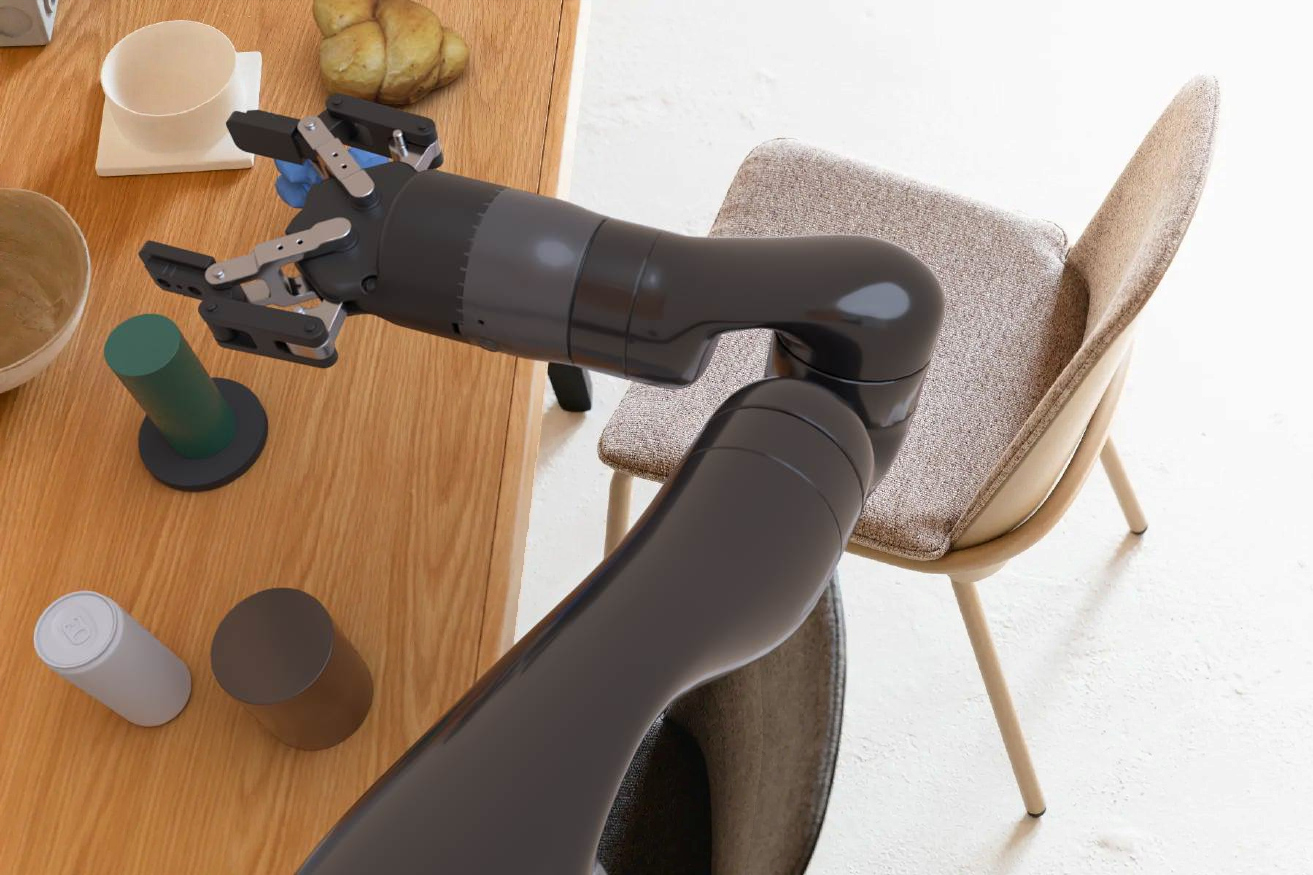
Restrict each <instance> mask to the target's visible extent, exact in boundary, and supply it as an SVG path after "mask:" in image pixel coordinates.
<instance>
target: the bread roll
mask: <svg viewBox="0 0 1313 875" xmlns="http://www.w3.org/2000/svg"><path fill="white" fill-rule="evenodd" d="M311 12H312V16H313V19H314V22H315V24H316V27H317V28H318V30H319V32H320V34H321V36H322V37H324V38H323V39H322V40H321V41H320V44H319V49H318V50H319V63H320V64H319V65H320V71H321V77H322V80H323V85H324V86H325V89H326V90H327V92H328V93H329V95H330V96H331V95H333V94H337V93H341V94H346V95H349V96H353V97H356V98H360V99H363V100H367V101H370V102H374V103H377V104H382V105H407V104H409V105H410V104H415V103H416V102H417V101H419V100H421V99H423V97H425V96H426V95H427V94H429V93H430V92H431V90H435V89H439V88H443V87H446V86H448V84H450V83H452V82H453V81H454V80H455V79H457V78H458V77H459V76H460V75H462V73H464V71H465V69H466V68H467V66H468V64H469V62H470V49H469V46H468V44H467V43H466V41H465V39H464V37H463V36H462V35H461V34H460V33H459V32H457V31H456V30H454V29H453V28H452V27H448V26H443V25H442V23H441V19H440V17H439V16H438V15H437V13H436V12H435V11H433V10H432V9H430V8H429V7H428V6H426V5H424V4H422V3H419V2H417V1H414V0H313V2H312V6H311Z"/></svg>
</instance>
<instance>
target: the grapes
mask: <svg viewBox="0 0 1313 875" xmlns="http://www.w3.org/2000/svg"><path fill="white" fill-rule="evenodd" d="M347 150H348V152H349V153H350V154H351V156H352V157H353V158H354V159H355V161H356V162H357V163H358V165H359V166H360V167H361V168H362V169H364V168H368V167H372V166H376V165H380V164H384V163H388V162H390V158H387V157H384V156H380V155H377V154H374V153H370V152H367V151H363V150H360V149H357V148H353V147H350V146H349V148H348V149H347ZM273 162H274V165H275V168H276V170H277V171H278V173H280V175H279V176H277V177H276V180H275V183H274V187H275V190H276V193H277V195H278V196H279V198H280V199H281V200H282V201H283V202H284V203H285V204H287V206H289V207H290V208H293V209H297V210H298V209H300V210H302V209H303V207H304V204H305V200H306V196H307V193H308V192H309V190H310V188H311V187H312V185H313V183H317V184H320V183H321V182H323V181H324V179H323V178H322V177H321V175H320V174H319V173H318V171H317V170H316V169H315V167H314V166H313V165H312V163H311V160H310V159H307V160H306V162H305V163H304V165H303V166H302V165H298V164H294V163H289V162H285V161H281V160H277V159H273Z"/></svg>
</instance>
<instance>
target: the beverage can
mask: <svg viewBox="0 0 1313 875" xmlns="http://www.w3.org/2000/svg"><path fill="white" fill-rule="evenodd" d="M32 640H33V646H34V650H35V652H36V653H37V655H38V657H39V658H40V659H41V662H42V663H43V664H44V665H45V666H47V668H49V669H50V670H51V671H52V672H54V673H55V674H57V675H58V676H60V677H61V678H63V679H64V680H66V681H67V682H68V683H70V684H72V685H74V686H75V687H76V688H78V689H80V690H81V691H82V692H84V693H85V694H88V695H89V696H91V697H92V698H94V699H95V700H97V701H98V702H100V703H101V704H103V705H104V706H105V707H107V708H109V709H110V710H111V711H113V712H115V713H116V714H117V715H119V716H120V717H122V718H124V719H125V720H126V721H128V722H130V723H132V724H135V725H136V726H141V727H158V726H160V725H163V724H167V723H168V722H170V721H171V720H173V719H174V718H176V717H177V716H178V715H179V713H180V712H182V711H183V709H184V708H185V706H186V704H187V703H188V701H189V698H190V695H191V692H192V677H191V672H190V669H189V668H188V666H187V664H186V663H185V662H184V661H183V660H182V659H181V658H180V657H179V656H178V655H177V654H176V653H174V652H173V651H172V650H171V649H170V648H169V647H167V645H165V644H164V643H163V642H162V641H161V640H159V639H158V638H157V637H156V636H155V635H153V634H152V633H151V631H149V630H148V629H147V628H146V627H145V626H143V625H142V624H141V623H140V622H139V621H138V620H137V619H135V618H134V617H133V616H132V615H131V614H129V612H127V610H125V609H124V608H123V607H121V606H120V605H119V604H118V603H117V602H116V601H115V600H114V599H113V598H111V597H109V596H106V595H105V594H101V593H99V592H96V591H93V590H80V591H73V592H70V593H67V594H64V595H62V596H60V597H58V598H57V599H56V600H54V601H52V602H51V604H50V605H48V606H47V607H46V608H45V609H44V611H43V612H42V614H40V616H39V618H38V620H37V622H36V624H35V627H34V631H33V638H32Z"/></svg>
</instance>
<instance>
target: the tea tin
mask: <svg viewBox="0 0 1313 875" xmlns="http://www.w3.org/2000/svg"><path fill="white" fill-rule="evenodd" d="M103 357H104V360H105V362H106V365H107V366H108V367H109V369H110V370H111V371H112V373H114V375H115V376H116V377H117V379H118V380H119V381H120V382H121V383H122V385H123V386H124V388H125V389H126V390H127V391H128V393H129V394H130V395H131V396H132V398H133V399H134V401H136V403H137V404H138V406H139V407H140V409H142V410H143V412H144V413H145V414H146V415H148V417H149V418H150V419H151V421H152V422H153V423H154V424H155V426H156V427H157V428H158V429H159V431H160V432H161V433H162V435H163V436H164V437H165V438H166V440H167V441H168V442H169V443H170V445H171V446H172V447H173V449H174V450H175V451H176V452H177V453H179V454H180V455H182V456H184V457H187V458H192V459H201V458H206V457H210V456H212V455H215V454H217V453H218V452H220V451H221V450H223V449H224V448H225V447H226V446H227V445H228V444H229V443H230V442H231V440H232V439H233V437H234V435H235V432H236V427H237V421H236V417H235V414H234V412H233V411H232V409H231V408H230V406H229V405H228V403H227V402H226V400H225V399H224V397H223V395H222V394H221V392H220V391H219V389H218V388H217V386H216V385H215V383H214V382H213V380H212V379H211V378H212V377H211V375H210V374H209V373H208V371H207V370H206V368H205V367H204V364H202V362H201V360H200V359H199V357H198V356H197V354H196V353H195V351H194V350H193V348H192V347H191V345H190V344H189V342H188V341H187V339H186V338H185V336H184V334H183V333H182V331H181V330H180V328H179V327H178V325H177V323H175V321H173V320H172V319H171V318H169V317H167V316H165V315H162V314H158V313H144V314H143V313H142V314H137V315H135V316H132V317H129V318H127V319H125V320H124V321H121V323H120V324H118V325H117V326H116V327H115V328H114V329H113V330H112V331H111V332H110V334H108V337H107V338H106V341H105V343H104V347H103Z"/></svg>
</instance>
